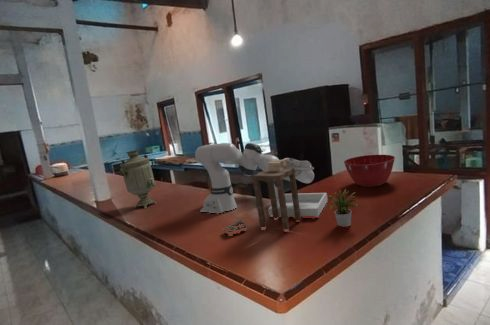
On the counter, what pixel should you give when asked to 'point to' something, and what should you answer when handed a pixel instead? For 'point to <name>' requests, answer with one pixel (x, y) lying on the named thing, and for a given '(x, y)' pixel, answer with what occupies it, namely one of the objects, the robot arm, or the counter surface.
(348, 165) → the mixing bowl
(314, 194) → the grey tray
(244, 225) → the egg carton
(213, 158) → the robot arm
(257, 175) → the walnut stand
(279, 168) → the mallet
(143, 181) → the samovar
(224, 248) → the counter surface
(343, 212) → the house plant
